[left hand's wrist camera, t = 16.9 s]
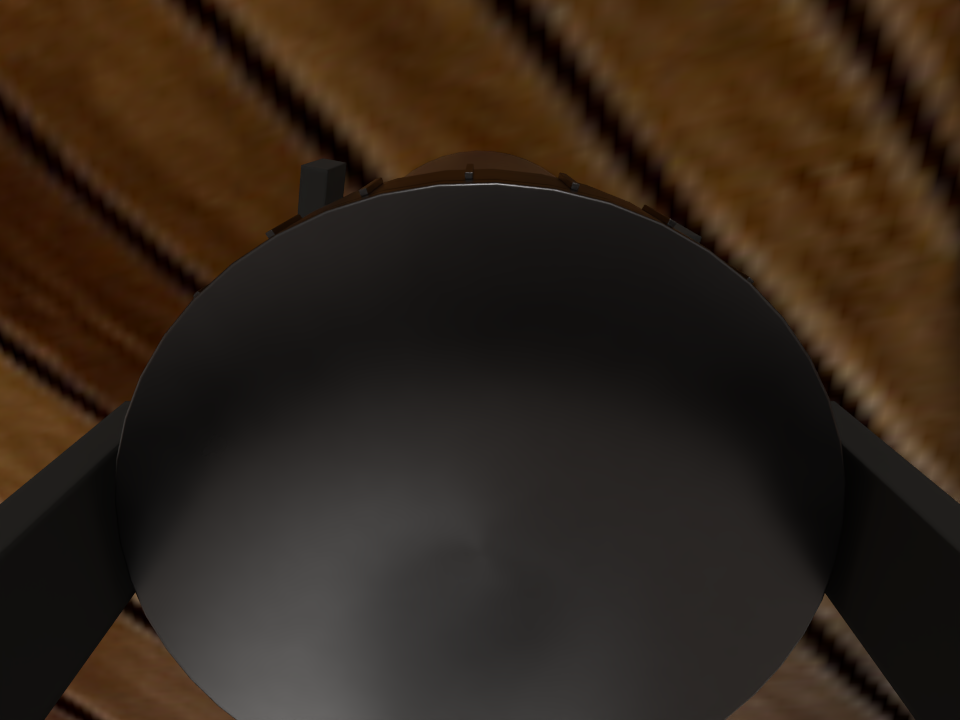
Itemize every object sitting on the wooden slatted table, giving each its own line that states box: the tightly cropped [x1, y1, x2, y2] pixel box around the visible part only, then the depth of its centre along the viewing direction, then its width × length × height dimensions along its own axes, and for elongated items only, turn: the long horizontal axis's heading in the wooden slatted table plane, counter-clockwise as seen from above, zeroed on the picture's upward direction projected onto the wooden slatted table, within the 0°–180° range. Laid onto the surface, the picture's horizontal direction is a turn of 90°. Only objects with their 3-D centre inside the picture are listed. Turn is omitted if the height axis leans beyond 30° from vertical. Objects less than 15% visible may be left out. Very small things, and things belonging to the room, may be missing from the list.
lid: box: [115, 164, 846, 720], centre depth 11 cm, size 12×12×2 cm
